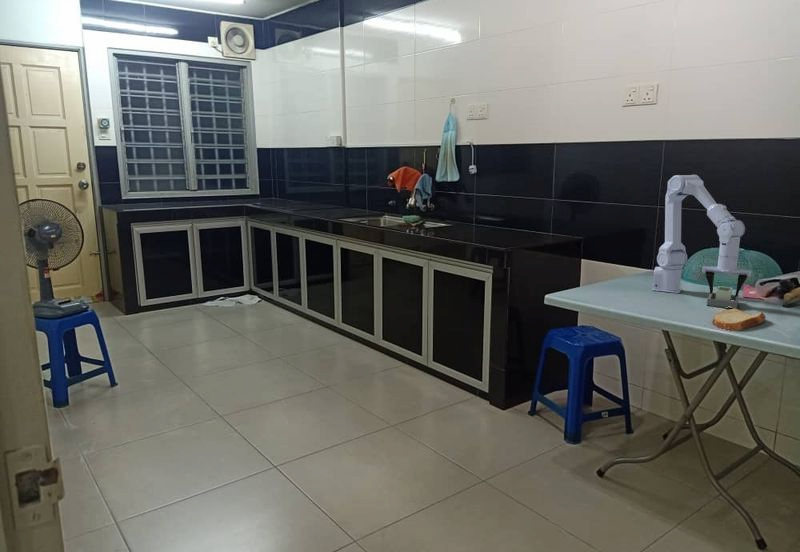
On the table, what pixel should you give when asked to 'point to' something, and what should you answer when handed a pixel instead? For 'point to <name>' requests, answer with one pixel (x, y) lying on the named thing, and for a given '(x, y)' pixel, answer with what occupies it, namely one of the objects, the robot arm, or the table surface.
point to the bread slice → (737, 319)
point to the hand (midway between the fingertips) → (723, 294)
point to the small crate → (723, 293)
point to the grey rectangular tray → (722, 301)
